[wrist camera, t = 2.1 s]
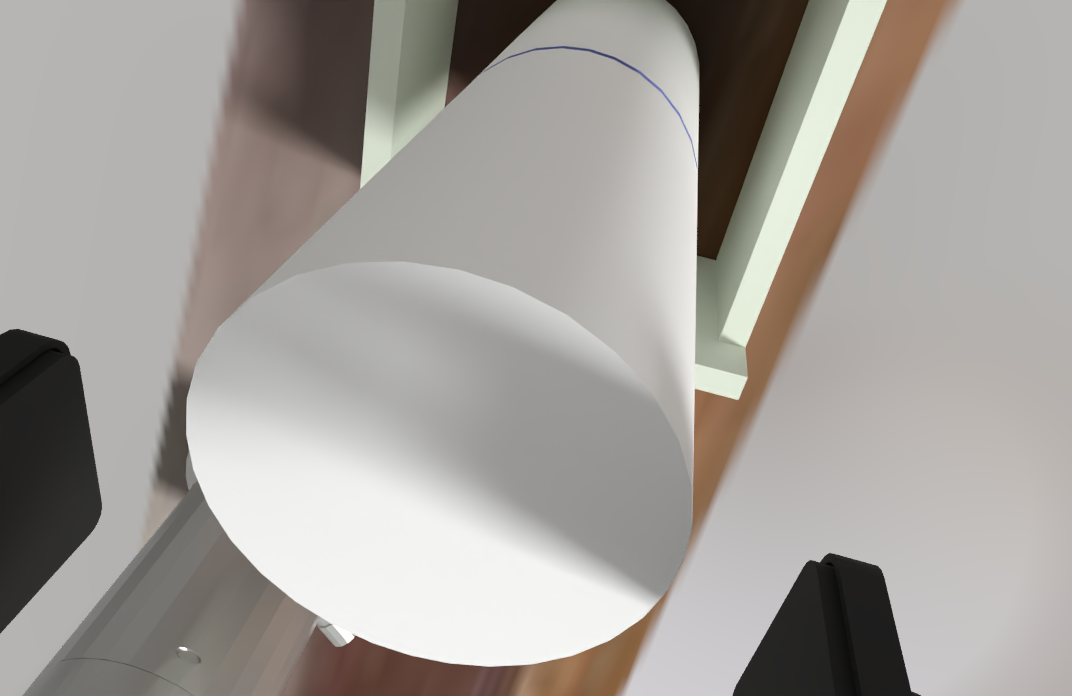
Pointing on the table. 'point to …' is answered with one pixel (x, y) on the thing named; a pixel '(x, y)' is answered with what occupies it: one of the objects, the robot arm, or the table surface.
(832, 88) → the frame
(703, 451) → the table surface
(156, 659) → the robot arm
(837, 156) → the table surface
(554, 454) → the cylindrical container
